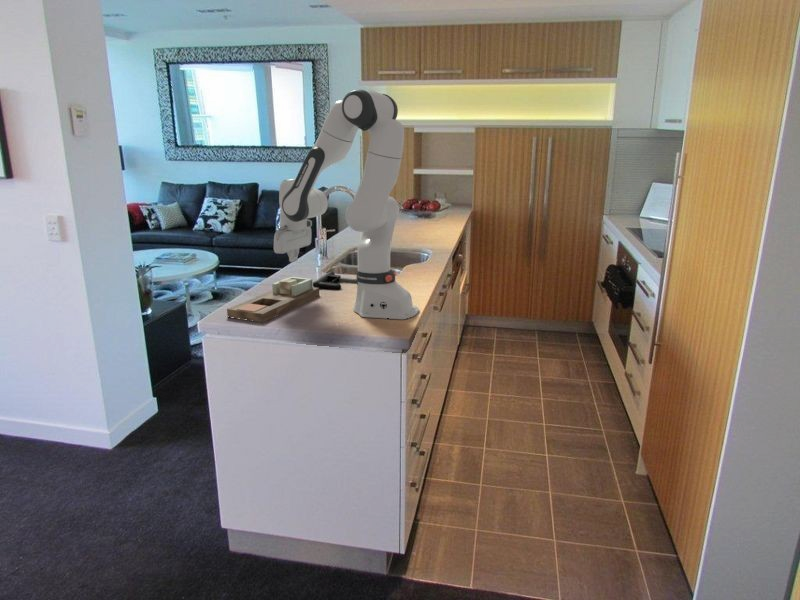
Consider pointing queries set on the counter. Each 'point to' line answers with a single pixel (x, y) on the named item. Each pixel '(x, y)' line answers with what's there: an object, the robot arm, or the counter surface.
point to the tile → (251, 307)
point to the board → (272, 305)
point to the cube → (286, 285)
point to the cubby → (296, 289)
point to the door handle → (333, 279)
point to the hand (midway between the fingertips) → (293, 261)
